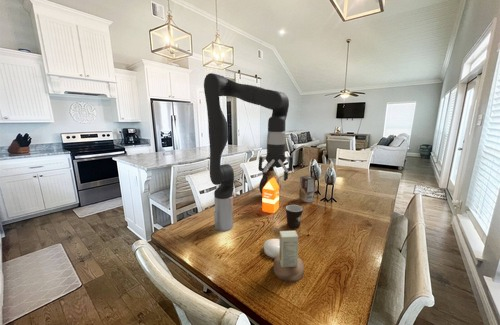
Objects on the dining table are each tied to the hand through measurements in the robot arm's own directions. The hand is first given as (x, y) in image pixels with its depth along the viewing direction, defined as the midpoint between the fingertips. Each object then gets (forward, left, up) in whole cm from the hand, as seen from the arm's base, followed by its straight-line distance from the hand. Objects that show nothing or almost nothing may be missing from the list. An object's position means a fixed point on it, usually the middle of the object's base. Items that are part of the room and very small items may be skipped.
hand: (275, 180), depth 88 cm
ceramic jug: (+5, +56, -30) cm, 64 cm away
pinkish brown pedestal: (+3, -18, -30) cm, 35 cm away
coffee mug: (+14, +15, -30) cm, 36 cm away
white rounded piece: (0, -6, -30) cm, 30 cm away
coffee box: (+30, +50, -30) cm, 66 cm away
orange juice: (+3, +35, -30) cm, 46 cm away
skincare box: (+3, -18, -27) cm, 32 cm away
